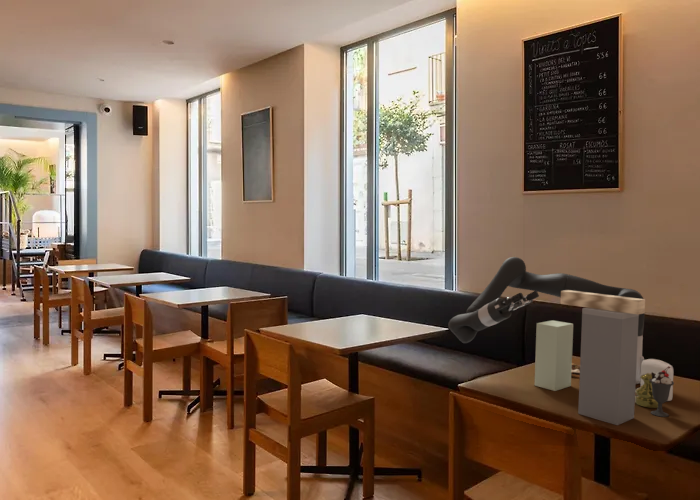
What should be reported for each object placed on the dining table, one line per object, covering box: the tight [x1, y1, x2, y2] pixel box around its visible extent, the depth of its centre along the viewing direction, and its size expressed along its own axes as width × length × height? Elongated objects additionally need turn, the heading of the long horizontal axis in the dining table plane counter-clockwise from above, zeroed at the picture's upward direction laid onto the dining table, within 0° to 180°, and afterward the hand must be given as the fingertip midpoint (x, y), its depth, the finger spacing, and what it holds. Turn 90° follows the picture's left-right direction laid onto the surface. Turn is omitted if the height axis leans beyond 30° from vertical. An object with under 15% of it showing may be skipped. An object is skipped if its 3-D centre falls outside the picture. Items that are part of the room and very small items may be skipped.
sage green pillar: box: [534, 319, 574, 392], centre depth 204 cm, size 8×10×22 cm
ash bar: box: [560, 290, 646, 315], centre depth 174 cm, size 24×4×4 cm, turn 39°
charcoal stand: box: [577, 307, 639, 426], centre depth 173 cm, size 12×10×32 cm
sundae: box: [649, 366, 675, 418], centre depth 176 cm, size 7×7×15 cm
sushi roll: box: [571, 363, 580, 379], centre depth 221 cm, size 15×15×4 cm
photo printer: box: [640, 358, 674, 402], centre depth 193 cm, size 10×4×12 cm, turn 26°
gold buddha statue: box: [635, 373, 658, 409], centre depth 185 cm, size 7×8×10 cm
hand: (530, 294), depth 193 cm, fingers open, 8 cm apart
